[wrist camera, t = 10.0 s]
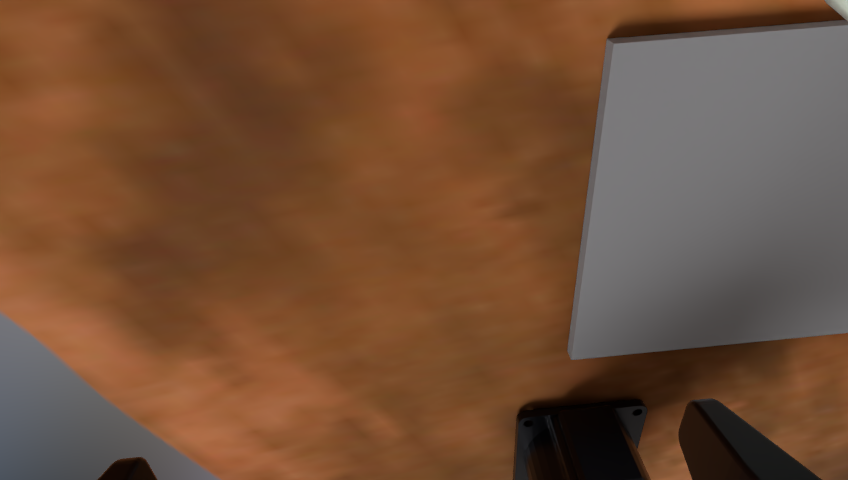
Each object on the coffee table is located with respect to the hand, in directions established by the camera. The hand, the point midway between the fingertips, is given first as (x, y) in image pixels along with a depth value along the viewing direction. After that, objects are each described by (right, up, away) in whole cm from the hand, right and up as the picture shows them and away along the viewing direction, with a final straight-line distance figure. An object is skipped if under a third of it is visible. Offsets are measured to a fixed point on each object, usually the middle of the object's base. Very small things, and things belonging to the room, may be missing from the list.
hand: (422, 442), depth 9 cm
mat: (+13, +5, +13) cm, 19 cm away
